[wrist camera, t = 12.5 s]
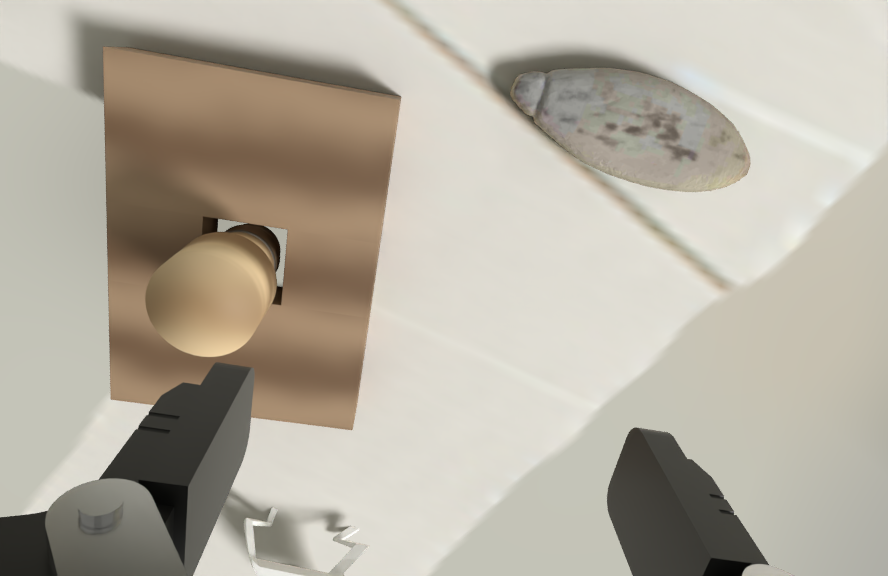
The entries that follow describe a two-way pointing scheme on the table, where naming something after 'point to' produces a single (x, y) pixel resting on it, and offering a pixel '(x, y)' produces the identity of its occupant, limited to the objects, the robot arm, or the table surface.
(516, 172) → the table surface
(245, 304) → the oak peg
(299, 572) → the origami figure
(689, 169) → the decorative stone
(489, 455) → the table surface
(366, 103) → the wooden board with hole
